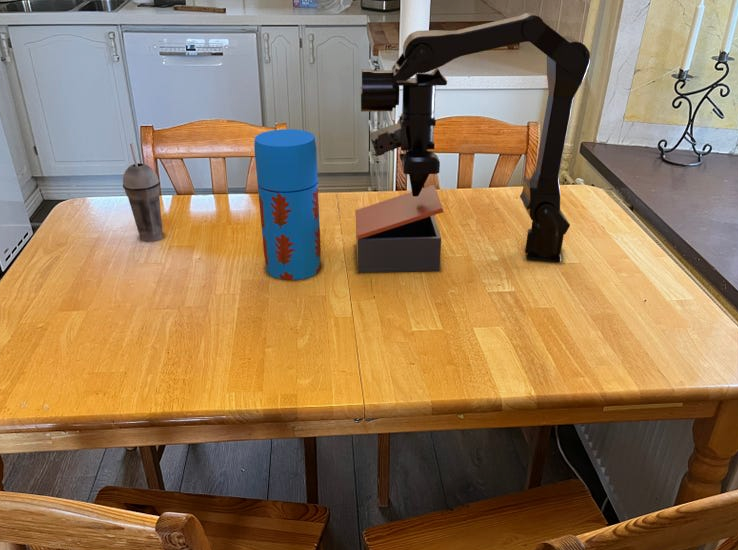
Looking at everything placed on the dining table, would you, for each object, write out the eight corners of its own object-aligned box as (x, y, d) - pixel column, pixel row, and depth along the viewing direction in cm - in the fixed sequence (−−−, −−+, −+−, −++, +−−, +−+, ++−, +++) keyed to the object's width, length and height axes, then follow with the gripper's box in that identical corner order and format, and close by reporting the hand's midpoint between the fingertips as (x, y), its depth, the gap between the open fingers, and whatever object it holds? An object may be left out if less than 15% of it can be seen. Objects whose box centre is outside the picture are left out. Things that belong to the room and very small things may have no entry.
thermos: (312, 283, 128) (305, 148, 114) (257, 277, 130) (244, 144, 116) (327, 258, 137) (322, 130, 123) (275, 253, 138) (265, 127, 124)
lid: (435, 188, 136) (434, 184, 135) (443, 212, 125) (442, 208, 125) (356, 213, 138) (355, 210, 137) (358, 239, 127) (357, 235, 127)
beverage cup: (173, 230, 148) (158, 137, 137) (162, 244, 142) (144, 148, 131) (141, 229, 149) (122, 136, 138) (128, 243, 143) (107, 146, 132)
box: (431, 243, 142) (433, 212, 138) (439, 271, 132) (441, 238, 128) (356, 245, 142) (355, 214, 138) (358, 272, 131) (357, 240, 127)
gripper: (370, 98, 129) (370, 179, 138) (375, 126, 114) (375, 215, 122) (429, 97, 129) (426, 178, 138) (442, 125, 114) (437, 214, 123)
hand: (415, 195), depth 130 cm, fingers closed
